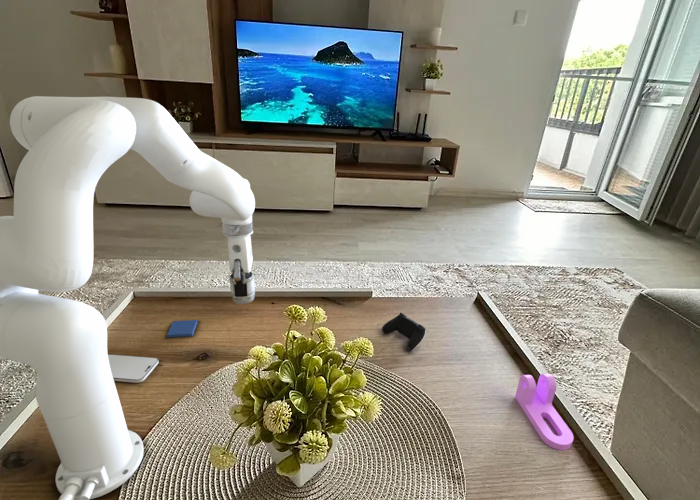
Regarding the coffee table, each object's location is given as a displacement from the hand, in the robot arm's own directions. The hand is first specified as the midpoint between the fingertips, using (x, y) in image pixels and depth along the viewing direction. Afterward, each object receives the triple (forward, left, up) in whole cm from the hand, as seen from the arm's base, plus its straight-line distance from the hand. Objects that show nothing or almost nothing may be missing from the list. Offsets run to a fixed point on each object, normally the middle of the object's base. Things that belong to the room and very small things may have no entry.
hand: (242, 289), depth 107 cm
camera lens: (0, 0, -3) cm, 3 cm away
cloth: (-7, +15, -7) cm, 18 cm away
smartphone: (-21, +25, -7) cm, 34 cm away
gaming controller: (-16, -41, -7) cm, 45 cm away
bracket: (-45, -62, -7) cm, 77 cm away
